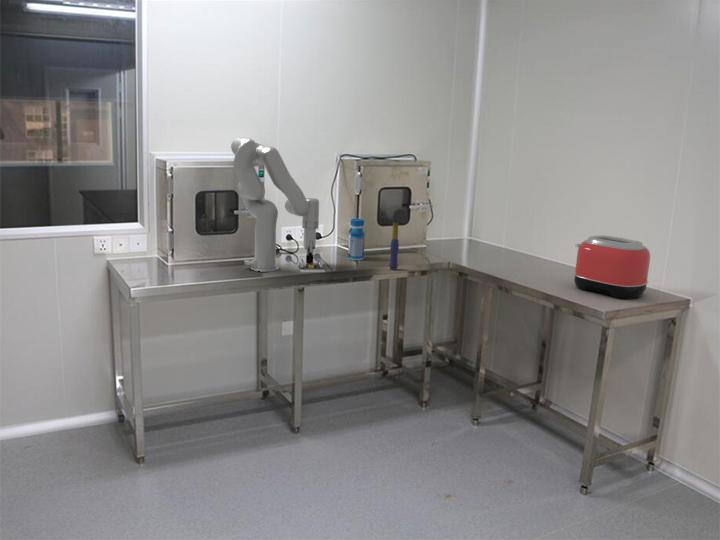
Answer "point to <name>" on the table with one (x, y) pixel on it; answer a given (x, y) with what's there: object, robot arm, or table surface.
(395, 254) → the rubber mallet
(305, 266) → the spacer board
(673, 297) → the table surface
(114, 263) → the table surface
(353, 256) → the beverage bottle
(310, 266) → the brass nut
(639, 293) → the toaster
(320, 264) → the spacer rows
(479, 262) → the table surface
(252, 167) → the robot arm
